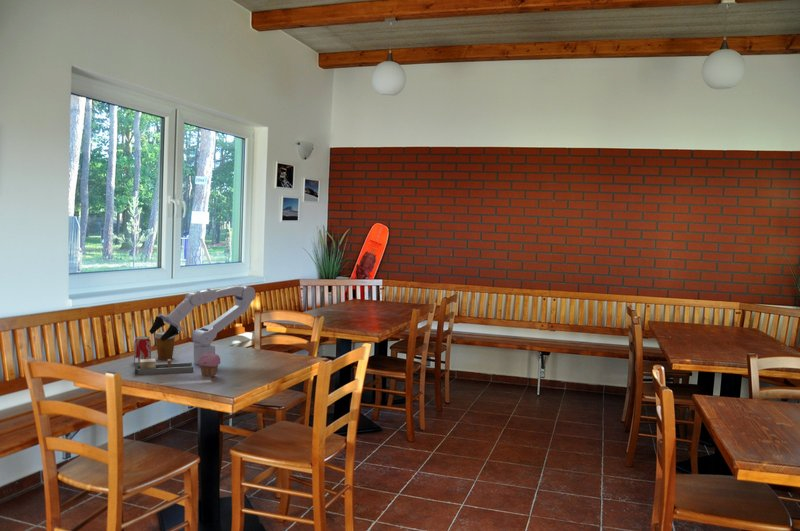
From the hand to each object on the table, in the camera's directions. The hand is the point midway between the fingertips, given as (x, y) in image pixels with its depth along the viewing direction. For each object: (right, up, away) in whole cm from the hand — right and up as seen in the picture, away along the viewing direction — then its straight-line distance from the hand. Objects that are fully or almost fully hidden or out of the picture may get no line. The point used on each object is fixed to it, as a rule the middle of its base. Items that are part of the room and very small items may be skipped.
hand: (156, 336), depth 284 cm
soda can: (-11, -14, +12) cm, 21 cm away
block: (+1, -14, -4) cm, 15 cm away
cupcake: (+25, -16, -7) cm, 31 cm away
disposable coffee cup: (-5, -13, +26) cm, 30 cm away
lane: (+5, -15, -3) cm, 16 cm away
